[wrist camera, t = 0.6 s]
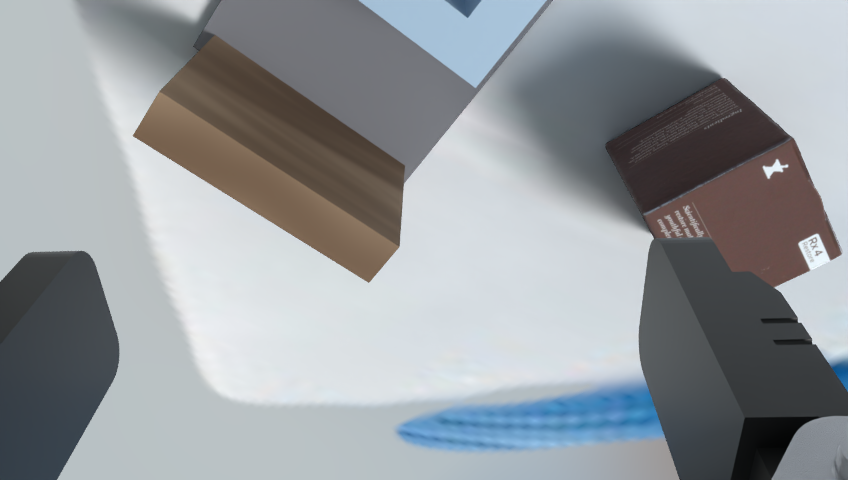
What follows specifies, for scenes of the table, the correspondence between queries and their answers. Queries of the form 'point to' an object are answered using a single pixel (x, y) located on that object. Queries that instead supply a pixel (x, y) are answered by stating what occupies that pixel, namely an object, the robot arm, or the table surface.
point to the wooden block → (280, 157)
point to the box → (727, 184)
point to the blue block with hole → (460, 29)
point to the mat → (353, 68)
